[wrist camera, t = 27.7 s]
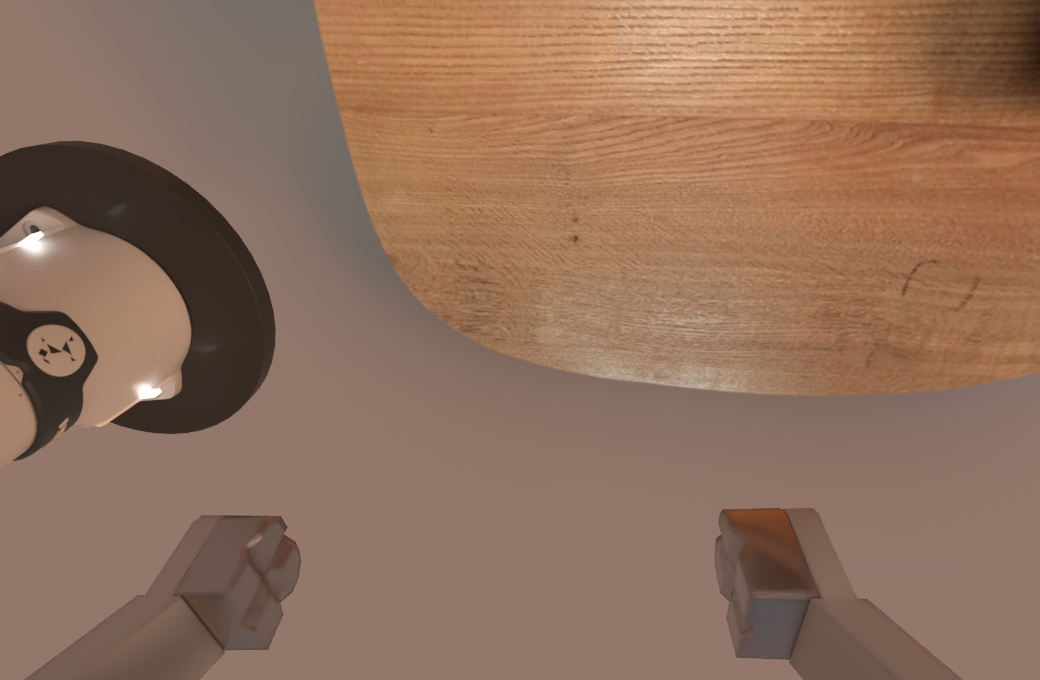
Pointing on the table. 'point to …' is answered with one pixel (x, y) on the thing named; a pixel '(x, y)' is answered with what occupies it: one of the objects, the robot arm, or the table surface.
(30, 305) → the robot arm
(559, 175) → the table surface
